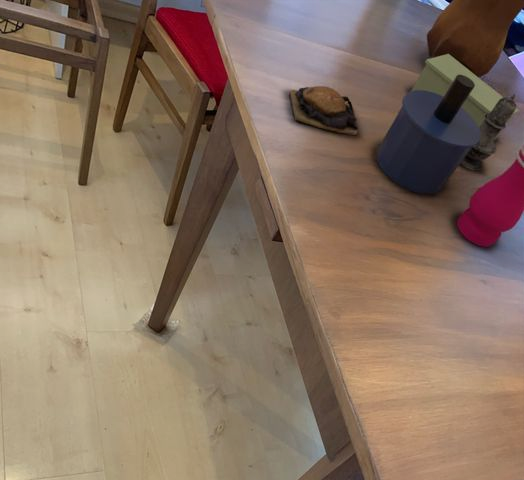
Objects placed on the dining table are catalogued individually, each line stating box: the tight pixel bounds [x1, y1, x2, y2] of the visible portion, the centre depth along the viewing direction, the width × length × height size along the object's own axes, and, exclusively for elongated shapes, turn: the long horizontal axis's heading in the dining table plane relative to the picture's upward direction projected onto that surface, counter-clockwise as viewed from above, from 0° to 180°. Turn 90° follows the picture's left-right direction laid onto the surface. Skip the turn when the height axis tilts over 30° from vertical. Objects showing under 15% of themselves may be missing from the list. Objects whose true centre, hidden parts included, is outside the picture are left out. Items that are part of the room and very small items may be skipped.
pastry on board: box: [289, 85, 359, 136], centre depth 85 cm, size 11×8×4 cm
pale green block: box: [411, 54, 521, 141], centre depth 98 cm, size 17×8×6 cm, turn 44°
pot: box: [375, 106, 472, 195], centre depth 82 cm, size 11×11×8 cm
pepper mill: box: [456, 144, 524, 248], centre depth 74 cm, size 7×7×20 cm
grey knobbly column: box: [459, 93, 517, 171], centre depth 88 cm, size 6×6×12 cm
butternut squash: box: [426, 0, 524, 78], centre depth 100 cm, size 14×13×25 cm
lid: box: [401, 75, 481, 149], centre depth 77 cm, size 12×12×7 cm
